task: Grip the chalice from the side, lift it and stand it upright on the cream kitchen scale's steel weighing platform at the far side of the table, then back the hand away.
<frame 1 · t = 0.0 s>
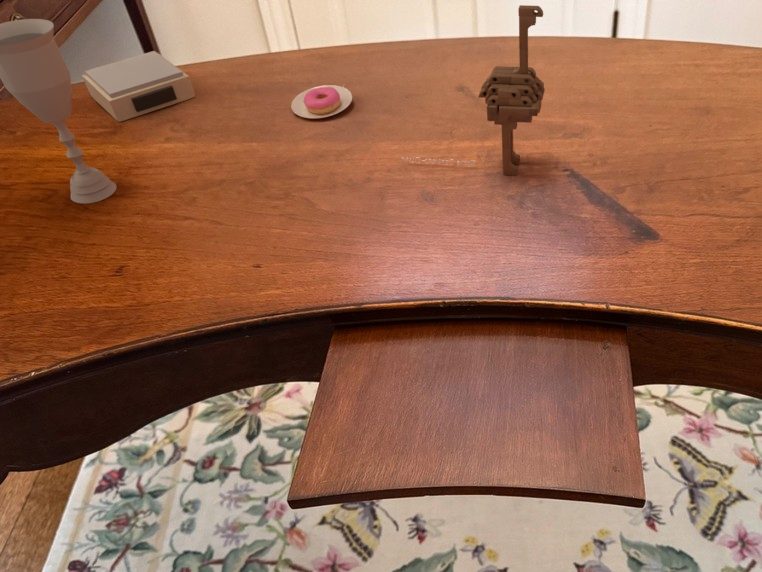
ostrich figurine: (471, 167, 85), on the table
chalice: (94, 193, 84), on the table
scale: (143, 96, 101), on the table
donut: (326, 104, 98), on the table
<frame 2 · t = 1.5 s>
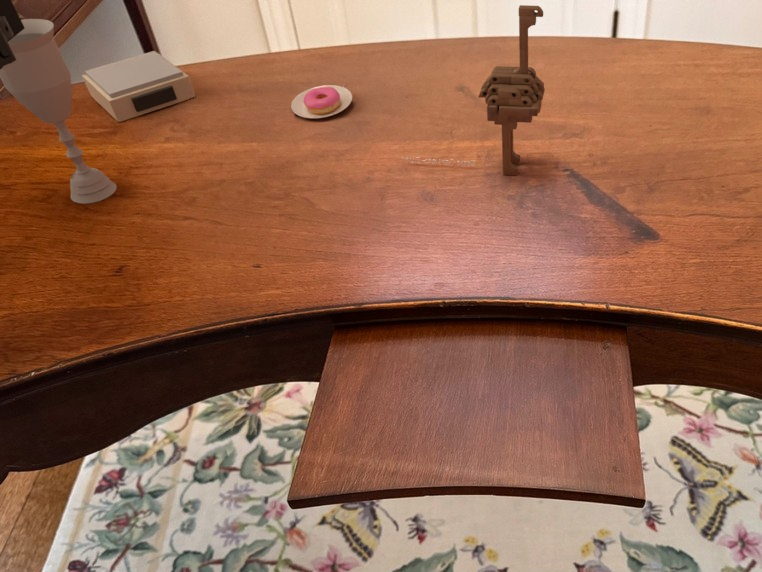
nothing on the table moved.
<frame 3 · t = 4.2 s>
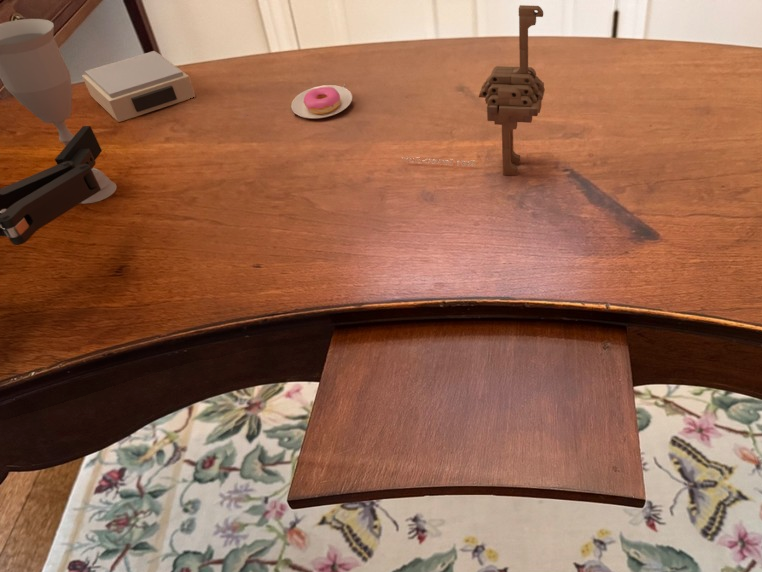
hand: (26, 140, 72), 10 cm above the table, tool horizontal, fingers open, 13 cm apart
nothing on the table moved.
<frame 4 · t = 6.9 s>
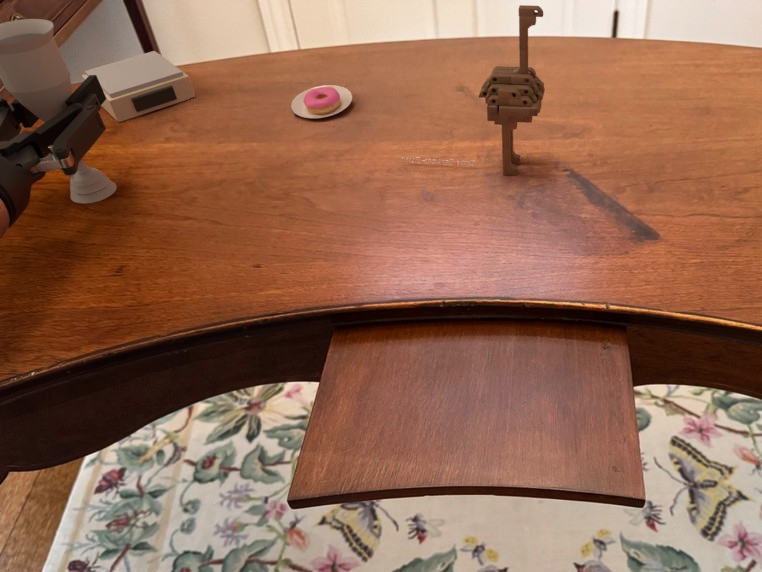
hand: (72, 88, 80), 10 cm above the table, tool horizontal, fingers closed on chalice, 5 cm apart
chalice: (94, 193, 84), on the table, touching gripper
everything else where it was.
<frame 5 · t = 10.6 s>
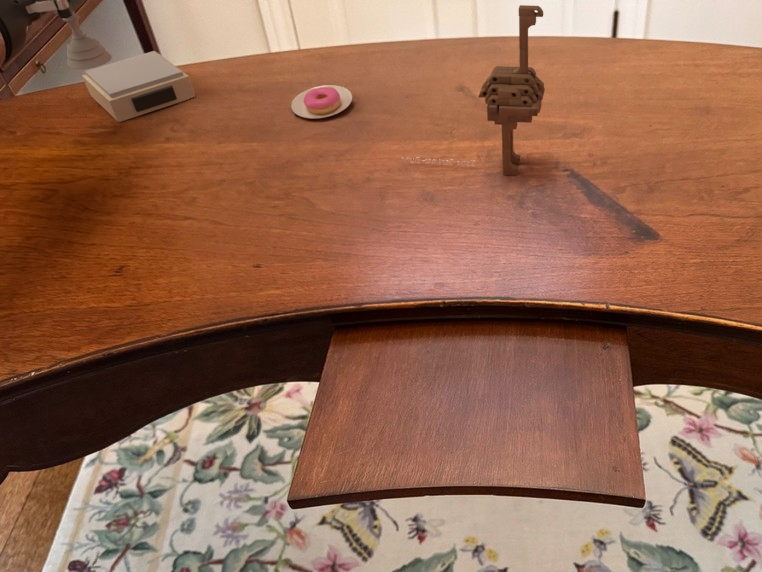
chalice: (90, 62, 86), point 10 cm above the table, touching gripper
everything else where it was.
when the fingers open (14 cm above the table, at t = 14.1 s): chalice stays where it is, resting on scale.
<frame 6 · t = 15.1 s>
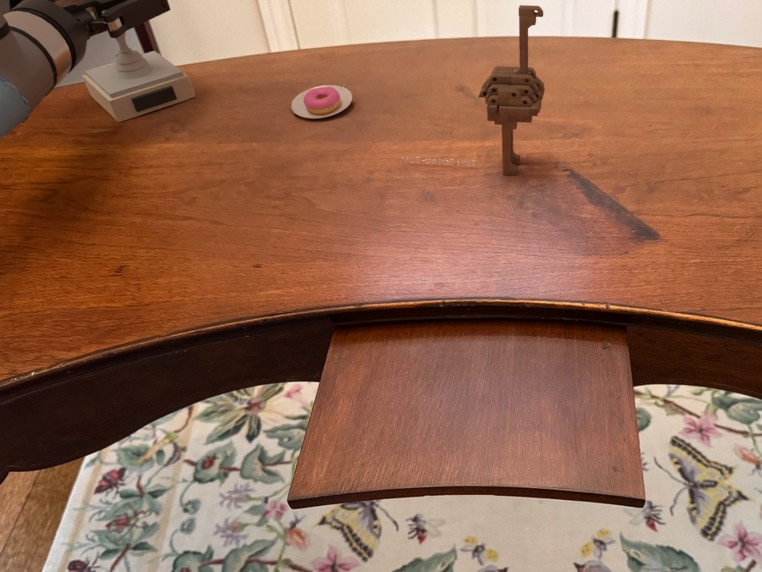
chalice: (133, 72, 98), point 3 cm above the table, touching scale
everything else where it was.
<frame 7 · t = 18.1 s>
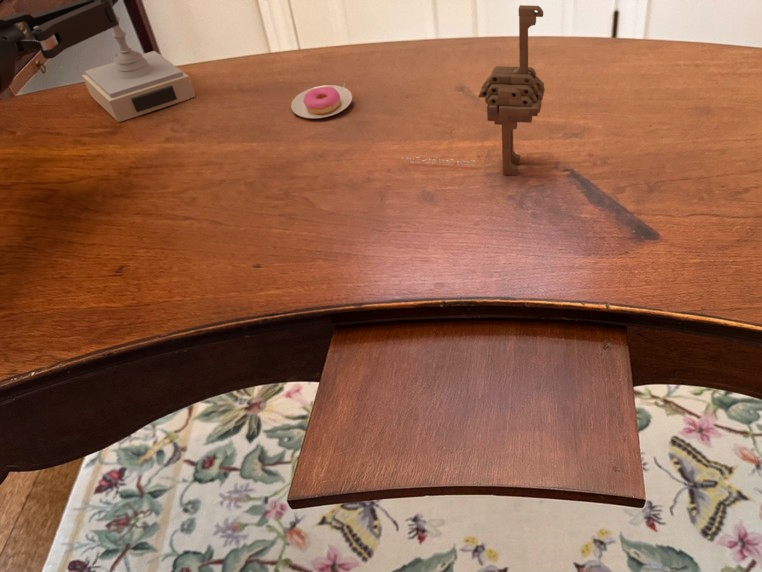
nothing on the table moved.
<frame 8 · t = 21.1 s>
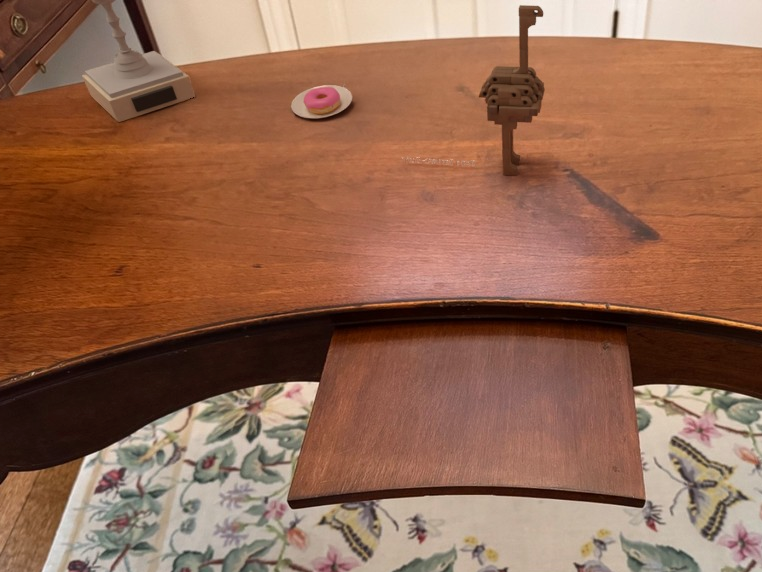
nothing on the table moved.
at the end: chalice inside the target area on the scale (0.0 cm from its centre), point 3.4 cm above the scale's base; chalice tilted 0°; the gripper is holding nothing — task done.
